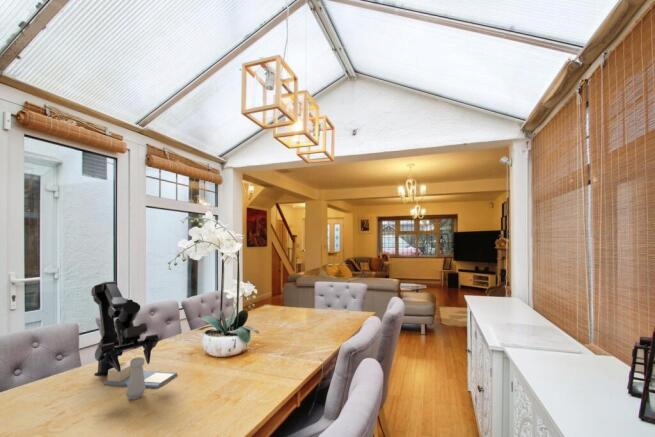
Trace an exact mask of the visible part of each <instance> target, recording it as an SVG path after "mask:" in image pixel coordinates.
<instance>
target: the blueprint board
mask: <svg viewBox="0 0 655 437" xmlns="http://www.w3.org/2000/svg"><path fill="white" fill-rule="evenodd" d="M131 360H132V359H130V360H128V359H127V361H124V362H122V363H120V368H121V371H120V372H118V371H117V370H116V369H115V368H111V369H109V370H108V376H107V380H105V381H104V382H103V385H106V386H107V385H108V386H118V387H119V386H120V387H127V386H128V382H129V378H130V374H131V371H132V367H131V366H130V362H131ZM143 373H144V381H145V389H146V388H148V389H158V388H160V387H161V386H163V385H165V383H167V382H169V381H170V380H171V379H173V378H175V377H177V376H178V372H176V371H160V370H144V369H143Z"/></svg>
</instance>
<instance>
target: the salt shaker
mask: <svg viewBox="0 0 655 437" xmlns="http://www.w3.org/2000/svg"><path fill="white" fill-rule="evenodd" d="M130 360H131V362H130V366H131V367H132V371H131V374H130V378H129V382H128V386H126V389H125V393H126V396H127V398H128V400H130V401H135V400H138V399H141V398H142V397H143V395H144V393H145V391H146V388H145V381H144V373H143V370H144V365H145V362H146V359H145V357H140V356H139V357H134V358H132V359H130Z"/></svg>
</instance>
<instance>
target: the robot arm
mask: <svg viewBox="0 0 655 437" xmlns="http://www.w3.org/2000/svg"><path fill="white" fill-rule="evenodd" d="M91 296H92V299H93V301H94V302H95V304H97V305H98V310H99V318H100V328H101V339H100V341H99V342H98V346H97V348H96V349H95V351H94V359H95V360H96V361H97V364H98V365H97V372H95V373H94V376H105V377H108V370H109V369H111V368H115V369H116V370H117V371H118V372H120V371H121V368H120V364H121V363H120V361H119V357H121V356H123V352H124V351H126V350H131V349H134V348H135V349H136V348H140V347H143V355H144V360H145V362H146V363H147V365H149V364H150V362H151V353H152V350H153V349H154V348H156V346H157V344H158V343H159V340H160V336H159V335H158V334H156V333H154V334H150V335H146V337H145V339H143V340H140V338H141V335H143V334H144V333H146V332H148V327H147V324H146V322H145V323H143V322H142V323H140V324H139V325H135V324H134V321H135V320H136V318H137V317H138V314H139V313H140V310H141V304H139V303H138V302H136V301H133V299H128V298H125V297H124V296H123V295H122V293H121V290H120V289H119V287H118V282H117V281H115V280H110V281H104V282H101V283H99V284H96V285H94V286H93V287H92V288H91Z"/></svg>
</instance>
